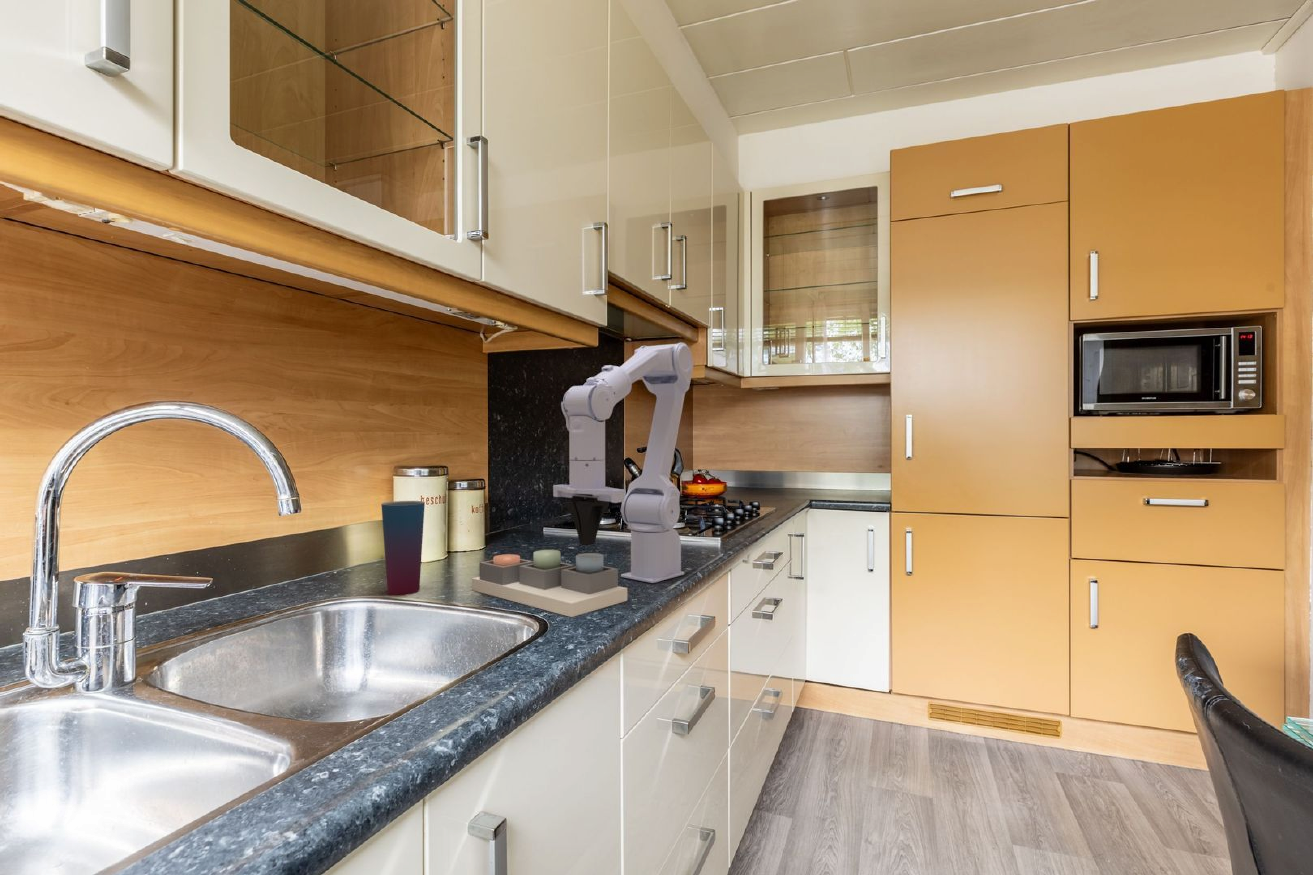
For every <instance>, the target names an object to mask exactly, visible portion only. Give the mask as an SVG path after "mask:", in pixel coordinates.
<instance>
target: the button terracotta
mask: <svg viewBox="0 0 1313 875" xmlns="http://www.w3.org/2000/svg"><path fill="white" fill-rule="evenodd" d="M520 559H521V556H520V555H519V554H511V553H508V554H507V553H505V554H498V555H494V556H493V559H492V560H493V564H494V565H499V566H503V567H504V566H509V565H514V564H519V563H520Z"/></svg>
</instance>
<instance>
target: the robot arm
mask: <svg viewBox="0 0 1313 875" xmlns="http://www.w3.org/2000/svg"><path fill="white" fill-rule="evenodd" d="M693 359H694V358H693V354H692V351H691V349H690V348H689V346H688V345H687V343H685V342H678V343H671V344H658V345H641V346H640V347H639V348H636V349H634V353H633V355H632V356H631V357H629V359H627V360H626V361H625V362H624V363H623V364H622V365H620V366H617V365H611V364H609V365H606V364H605V365H603V366H602V367H601V372H599V373H597V375H594V376H591V377H589V378H586V382H585V383H584V384H583V385H573V386H571V387H570V388H569V389H568V390H567V391H566V392H565V393H564V395H563V398H562V401H561V403H560V407H561V411H562V413H563V416H564V418H565V422H566V424H565V427H566V428H567V431H568V432H569V434H568V437H569V440H568V441H569V442H568V444H569V446H568V447H569V448H568V449H569V450H568V451H569V452H568V454H569V455H568V456H569V457H568V458H569V461H568V462H569V484H553V486H552V490H553V494H552V495H553V497H555V498H570V499H571V500H570V501H566V502H565V507H566V509H567V510H568V512H569V514H570V516H571V518H572V520H573V523H574V525H575V529H576V532H577V537H578V540H579V544H580V545H581V546H584V547H586V546H592V545H595V544H596V540H597V536H598V531H599V527H600V524H601V521H602V519H603V517H604V515H605V513H606V511H607V509H608V508H609V506H610V502H611V503H613V504H618V503H621V507H620V512H621V513H620V514H621V517H622V520H623V521H624V523H625V525H627V529H628V530H630V571H629V572H624V573H622V574H620V577H621V578H624V579H629V580H635V581H640V582H646V583H651V584H654V583H659V582H662V581H664V580H665V581H666V580H670V579H672V578H677V577H680V576H684V575H685V571H682V542H681V537H680V535H679V533H678V531H677V530H676V529H674V527H675V526H676V524H677V523H678V521H679V518H680V514H681V507H680V498H681V497H680V496H681V492H680V491H679V489H678V487H677V486H676V485H675V484H674V482H672V481H671V480H670V478H671V472H672V466H673V460H674V456H675V449H676V444H677V440H678V433H679V427H680V423H681V417H682V412H683V406H684V400H685V395H686V393H687V392H688V390H689V389H690V384H691V379H692V374H693V370H694V363H695V362H694V360H693ZM640 379H642V382H643V383H644V385H645V387H646V389H647V390H648V391H649V392H650V393H651V394H654V395H655V396H656V401H655V407H654V411H653V418H652V422H651V426H650V432H649V437H648V442H647V447H646V453H645V458H644V462H643V468H642V472H641V475H639V476H638V477H636V478H635V479H634V480H633V481H631V482H630V483H629V484H628V488H627V492H626V494H625V489H624V488H623V489H622V488H621V489H620V488H614V487H610V486H609V487H608V486H606V420H608V419H610V417H611V416H612V413H613V409H614V407H615V406H616V404H617V403H619V402H620V401H622V400H623V399H625V397H626V396H628V395H629V394H630V392H631V391H632V386H633V385H632V384H634V383H635V382H637V381H638V380H640Z"/></svg>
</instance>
